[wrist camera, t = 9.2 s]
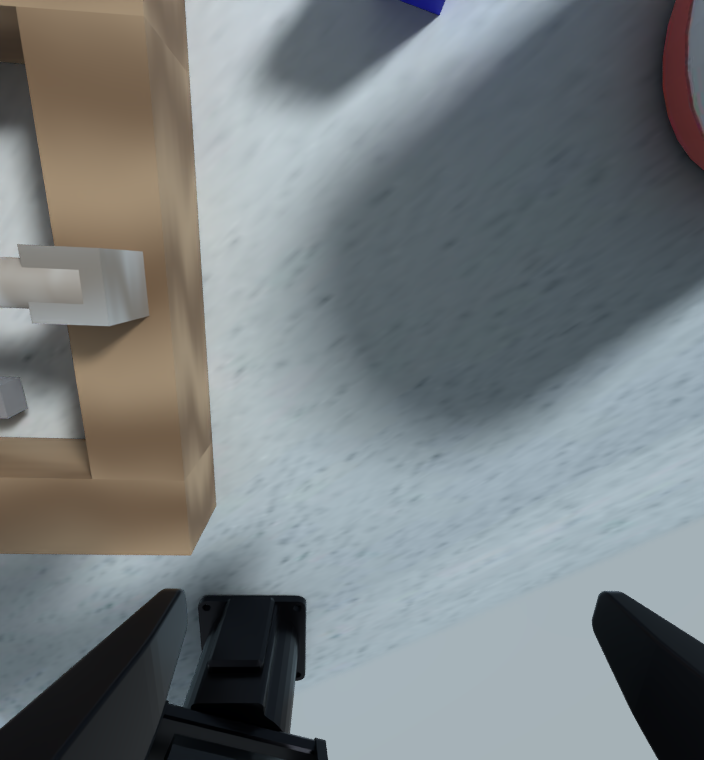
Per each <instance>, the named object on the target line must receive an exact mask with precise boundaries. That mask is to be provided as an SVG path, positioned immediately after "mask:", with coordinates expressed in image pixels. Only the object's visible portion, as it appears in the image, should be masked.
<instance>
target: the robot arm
mask: <svg viewBox="0 0 704 760" xmlns="http://www.w3.org/2000/svg"><path fill="white" fill-rule="evenodd" d="M206 604H207V605H206ZM208 605H209V606H208ZM296 605H300V606H296ZM198 611H199V622H200V634H201V646H202V654H201V656H200V659H199V662H198V665H197V668H196V671H195V674H194V676H193V679H192V682H191V685H190V688H189V691H188V694H187V696H186V699H185V702H184V705H183V707H181V706H177V705H173V704H169V703H168V702H169V701H167V700H166V698H167V694H168V691H169V688H170V684H171V681H172V677H173V674H174V671H175V667H176V664H177V660H178V657H179V654H180V650H181V647H182V643H183V640H184V637H185V633H186V629H187V608H186V598H185V592H184V590H183V589H163V590H161V591H160V592H159V593H158V594H156V595H155V596H154V597H153V598H152V599H151V600H149V601H148V602H147V603H146V604H145V605H144V606H142V607H141V608H140V609H139V610H138V611H137V612H135V613H134V614H133V615H132V616H131V617H130V618H129V619H127V620H126V621H125V622H124V623H123V624H122V625H120V626H119V627H118V628H117V629H116V630H115V631H113V632H112V633H111V634H110V635H109V636H108V637H106V638H105V639H104V640H103V641H102V642H101V643H99V644H98V645H97V646H96V647H95V648H94V649H92V650H91V651H90V652H89V653H88V654H87V655H86V656H84V657H83V658H82V659H81V660H80V661H79V662H77V663H76V664H75V665H74V666H73V667H72V668H70V669H69V670H68V671H67V672H66V673H65V674H63V675H62V676H61V677H60V678H59V679H58V680H56V681H55V682H54V683H53V684H52V685H51V686H50V687H48V688H47V689H46V690H45V691H44V692H43V693H41V694H40V695H39V696H38V697H37V698H36V699H34V700H33V701H32V702H31V703H30V704H29V705H27V706H26V707H25V708H24V709H23V710H22V711H20V712H19V713H18V714H17V715H16V716H15V717H14V718H12V719H11V720H10V721H9V722H8V723H7V724H5V725H4V726H3V727H2V728H1V729H0V760H328V757H327V748H326V741H325V740H322V739H318V738H315V739H314V740H313V739H309V738H305V737H301V736H297V735H292V734H290V727H291V717H292V707H293V697H294V687H295V681H298V680H302V679H303V678H304V676H305V662H306V600H305V599H304V598H303V597H300V596H205V597H203V598H202V599H201V601H200V603H199V606H198ZM592 626H593V631H594V633H595V635H596V638H597V640H598V642H599V644H600V646H601V648H602V651H603V653H604V655H605V657H606V659H607V661H608V663H609V665H610V668H611V670H612V672H613V674H614V676H615V678H616V680H617V682H618V685H619V687H620V689H621V691H622V693H623V695H624V697H625V700H626V701H627V703H628V705H629V708H630V709H631V712H632V714H633V715H634V717H635V719H636V721H637V723H638V725H639V726H640V728H641V730H642V732H643V734H644V735H645V737H646V739H647V741H648V743H649V744H650V746H651V748H652V750H653V751H654V753H655V755H656V757H657V758H658V760H704V644H703V643H701V642H700V641H698V640H697V639H695V638H694V637H692V636H690V635H689V634H687V633H686V632H684V631H682V630H681V629H679V628H678V627H676V626H675V625H673V624H672V623H670V622H668V621H667V620H665V619H664V618H662V617H661V616H659V615H657V614H656V613H654V612H653V611H651V610H649V609H648V608H646V607H645V606H643V605H642V604H640V603H638V602H637V601H635V600H634V599H632V598H631V597H629V596H627V595H626V594H624V593H622V592H619V591H603V592H602V593H600V594H599V596H598V599H597V603H596V607H595V610H594V614H593V617H592Z"/></svg>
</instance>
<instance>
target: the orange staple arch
mask: <svg viewBox="0 0 704 760" xmlns="http://www.w3.org/2000/svg"><path fill="white" fill-rule="evenodd" d="M27 408H28V407H27V403H26V399H25V395H24V391H23V388H22V384H21V380H20V377H0V418H6V419H8V418H10V417H12V416H14V415H16V414H18V413H20V412H21V411H23V410H25V409H27Z"/></svg>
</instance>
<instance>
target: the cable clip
mask: <svg viewBox="0 0 704 760" xmlns="http://www.w3.org/2000/svg"><path fill="white" fill-rule="evenodd" d="M400 1H402V2H405V3H408V4H410V5H413V6H416V7H418V8H421V9H423V10H426V11H429V12H431V13H434V14H437V15H440V12H441V10H442V7H443V5H444V2H445V0H400Z"/></svg>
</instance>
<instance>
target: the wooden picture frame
mask: <svg viewBox="0 0 704 760" xmlns="http://www.w3.org/2000/svg"><path fill="white" fill-rule="evenodd" d="M0 62H8V63H23V64H25V67H26V74H27V80H28V86H29V92H30V98H31V105H32V111H33V117H34V123H35V129H36V135H37V142H38V148H39V154H40V160H41V166H42V173H43V179H44V185H45V191H46V197H47V203H48V210H49V216H50V222H51V228H52V234H53V241H54V246H43V245H22V244H17V245H18V251H19V256H20V258H12V257H0V307H3V308H29V310H30V315H31V320H32V323H35V324H62V325H67V327H68V333H69V339H70V346H71V352H72V358H73V364H74V370H75V376H76V383H77V389H78V395H79V401H80V407H81V414H82V420H83V426H84V432H85V438H86V439H63V438H20V437H0V554H94V555H191V554H192V552H193V550H194V548H195V546H196V544H197V542H198V540H199V538H200V536H201V534H202V532H203V530H204V529H205V527H206V525H207V523H208V521H209V519H210V517H211V515H212V513H213V511H214V509H215V507H216V496H215V480H214V464H213V448H212V432H211V416H210V400H209V384H208V368H207V352H206V336H205V320H204V304H203V288H202V272H201V256H200V240H199V224H198V208H197V192H196V177H195V161H194V145H193V129H192V113H191V97H190V81H189V65H188V49H187V33H186V17H185V1H184V0H0Z"/></svg>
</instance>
